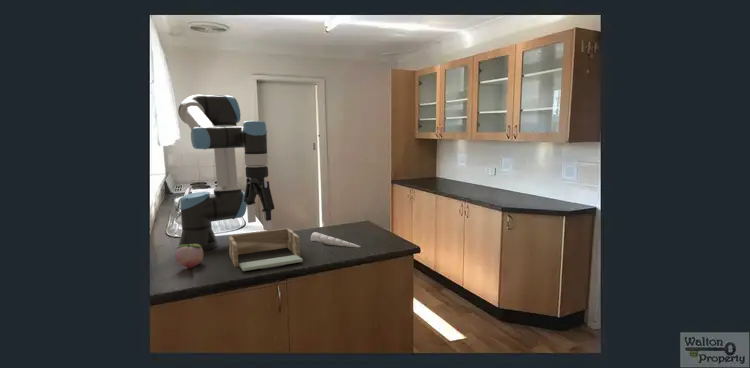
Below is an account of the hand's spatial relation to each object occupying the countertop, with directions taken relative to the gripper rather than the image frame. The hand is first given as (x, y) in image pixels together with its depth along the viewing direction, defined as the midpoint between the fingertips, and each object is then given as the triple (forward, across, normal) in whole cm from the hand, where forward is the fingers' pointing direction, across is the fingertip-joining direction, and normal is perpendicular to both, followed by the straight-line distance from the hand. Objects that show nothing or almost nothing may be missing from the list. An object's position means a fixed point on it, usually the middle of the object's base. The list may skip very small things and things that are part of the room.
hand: (259, 225), depth 146 cm
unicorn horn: (+17, +10, -38) cm, 42 cm away
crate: (+16, +11, -6) cm, 21 cm away
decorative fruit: (+17, +19, +19) cm, 31 cm away
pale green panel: (+15, +3, -4) cm, 16 cm away
